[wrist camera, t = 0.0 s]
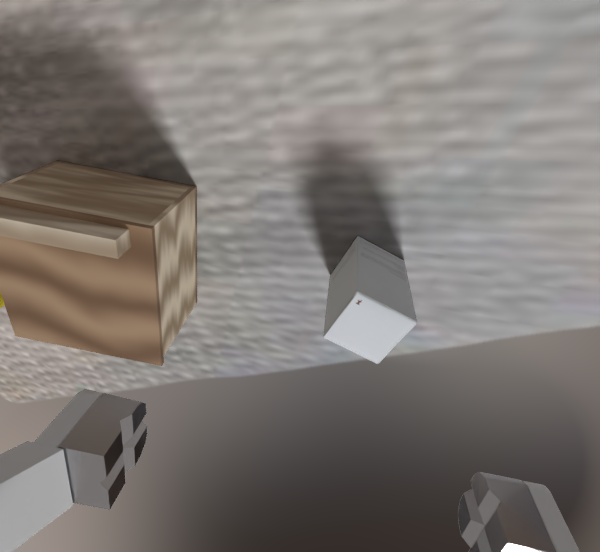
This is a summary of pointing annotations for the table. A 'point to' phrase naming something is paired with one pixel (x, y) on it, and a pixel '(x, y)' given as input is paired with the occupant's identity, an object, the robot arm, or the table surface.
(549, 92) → the table surface
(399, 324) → the supplement box
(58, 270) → the lid
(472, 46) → the table surface
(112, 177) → the box
